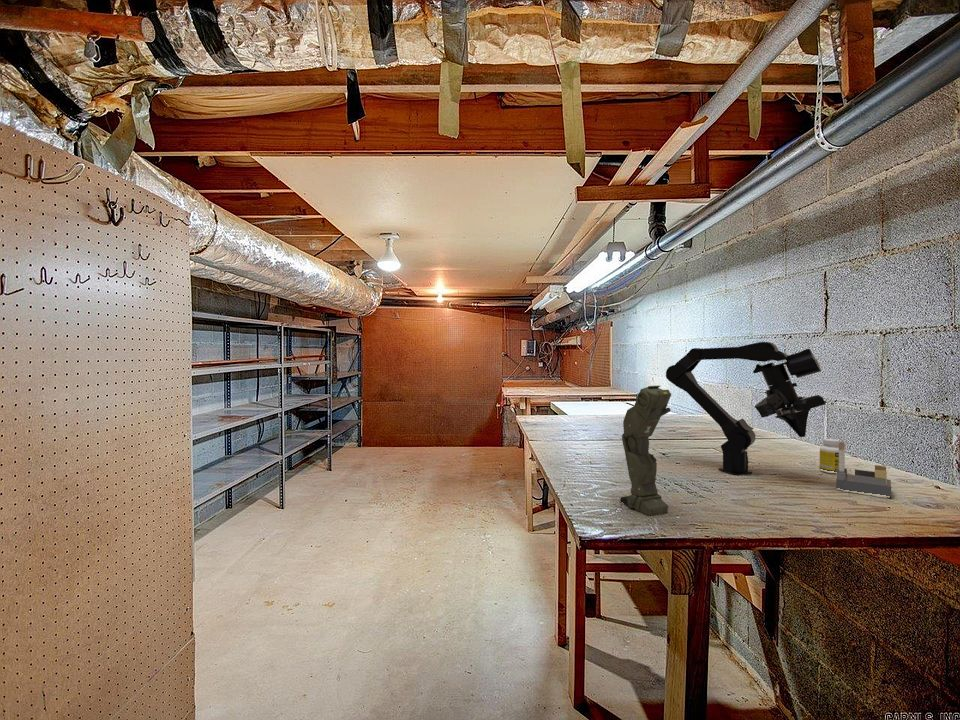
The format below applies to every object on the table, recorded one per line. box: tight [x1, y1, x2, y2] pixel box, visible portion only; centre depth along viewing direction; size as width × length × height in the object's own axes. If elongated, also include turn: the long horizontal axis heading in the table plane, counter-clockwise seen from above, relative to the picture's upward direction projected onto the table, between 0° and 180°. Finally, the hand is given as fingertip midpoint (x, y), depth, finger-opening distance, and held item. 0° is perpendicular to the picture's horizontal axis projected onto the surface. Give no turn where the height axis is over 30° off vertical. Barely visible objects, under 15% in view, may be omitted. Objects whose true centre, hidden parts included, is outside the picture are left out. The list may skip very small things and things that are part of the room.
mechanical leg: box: [619, 385, 672, 517], centre depth 103 cm, size 14×7×30 cm, turn 21°
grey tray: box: [835, 464, 892, 497], centre depth 114 cm, size 10×8×6 cm
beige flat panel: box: [839, 441, 846, 473], centre depth 117 cm, size 1×5×9 cm, turn 138°
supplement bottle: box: [819, 438, 841, 472], centre depth 132 cm, size 5×5×10 cm
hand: (802, 436), depth 122 cm, fingers closed
